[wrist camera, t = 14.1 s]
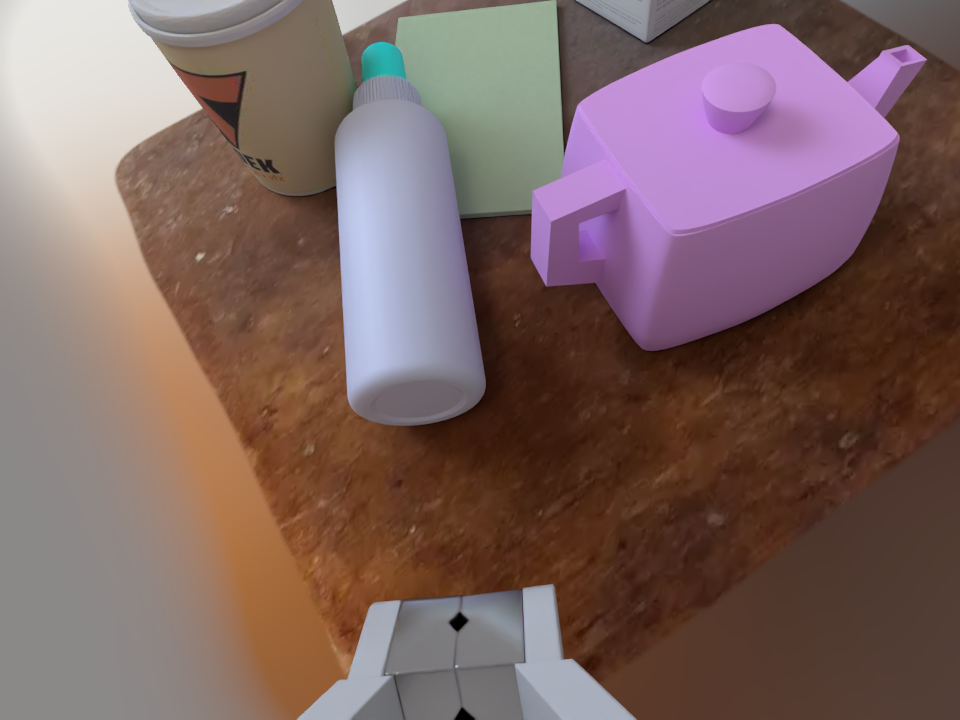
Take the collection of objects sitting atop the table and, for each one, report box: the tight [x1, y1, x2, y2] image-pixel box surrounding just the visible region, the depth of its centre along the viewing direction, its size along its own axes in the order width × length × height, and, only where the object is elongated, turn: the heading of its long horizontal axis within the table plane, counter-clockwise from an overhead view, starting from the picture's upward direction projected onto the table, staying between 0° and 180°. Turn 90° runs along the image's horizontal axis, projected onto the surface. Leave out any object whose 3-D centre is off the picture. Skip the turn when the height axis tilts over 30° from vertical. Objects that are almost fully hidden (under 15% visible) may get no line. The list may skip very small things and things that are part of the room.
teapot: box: [531, 24, 927, 351], centre depth 28 cm, size 18×10×10 cm, turn 113°
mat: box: [395, 0, 564, 219], centre depth 39 cm, size 11×18×1 cm, turn 179°
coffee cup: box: [128, 0, 357, 196], centre depth 34 cm, size 9×9×12 cm
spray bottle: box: [334, 42, 486, 426], centre depth 32 cm, size 6×6×22 cm
